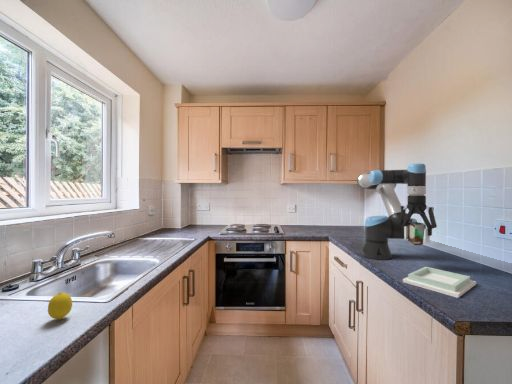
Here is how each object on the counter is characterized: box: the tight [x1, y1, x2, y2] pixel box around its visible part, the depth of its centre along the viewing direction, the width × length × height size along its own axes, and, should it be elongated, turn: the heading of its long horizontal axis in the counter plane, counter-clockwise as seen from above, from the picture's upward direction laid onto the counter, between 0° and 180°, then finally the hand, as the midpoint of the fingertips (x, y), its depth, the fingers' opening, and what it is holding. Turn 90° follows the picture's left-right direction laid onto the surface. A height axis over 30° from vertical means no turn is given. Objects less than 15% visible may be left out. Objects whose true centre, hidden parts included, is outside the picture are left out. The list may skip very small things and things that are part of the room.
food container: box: [407, 221, 427, 246], centre depth 116 cm, size 12×6×10 cm, turn 163°
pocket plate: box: [402, 266, 477, 299], centre depth 96 cm, size 18×21×3 cm
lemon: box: [47, 292, 73, 321], centre depth 69 cm, size 6×6×8 cm
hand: (416, 240), depth 117 cm, fingers closed on food container, 9 cm apart
